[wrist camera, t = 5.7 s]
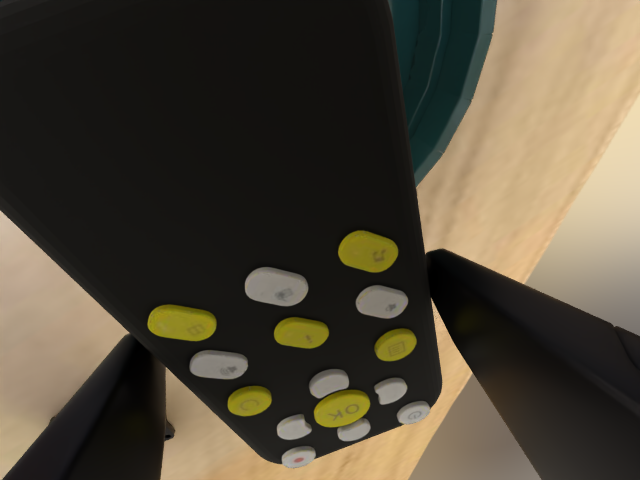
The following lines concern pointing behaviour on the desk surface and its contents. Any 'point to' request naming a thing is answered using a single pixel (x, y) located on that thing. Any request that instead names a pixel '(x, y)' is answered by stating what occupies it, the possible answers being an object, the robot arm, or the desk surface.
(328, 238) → the remote control
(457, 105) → the bowl
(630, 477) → the robot arm
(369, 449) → the desk surface
